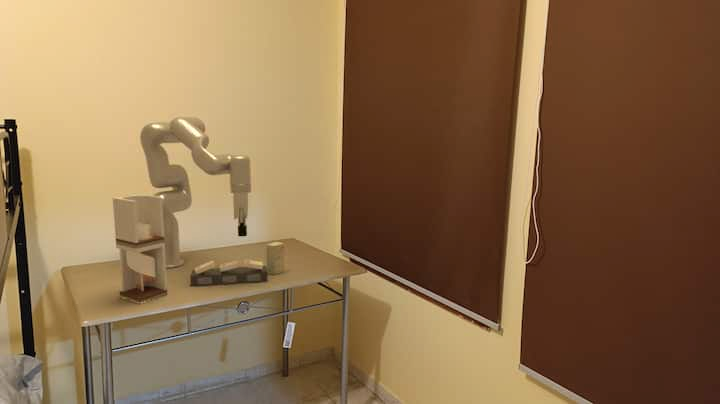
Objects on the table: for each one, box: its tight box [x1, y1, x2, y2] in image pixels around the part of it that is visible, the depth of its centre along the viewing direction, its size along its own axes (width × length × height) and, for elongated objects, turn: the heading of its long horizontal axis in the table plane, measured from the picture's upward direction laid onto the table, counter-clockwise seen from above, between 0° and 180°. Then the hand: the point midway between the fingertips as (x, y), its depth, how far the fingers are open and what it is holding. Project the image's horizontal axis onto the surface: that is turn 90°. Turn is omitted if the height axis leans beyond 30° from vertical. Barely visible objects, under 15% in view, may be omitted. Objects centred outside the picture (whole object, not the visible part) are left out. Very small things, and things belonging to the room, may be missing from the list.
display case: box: [112, 193, 168, 303], centre depth 164 cm, size 11×11×35 cm
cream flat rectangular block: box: [219, 259, 240, 272], centre depth 183 cm, size 7×4×2 cm, turn 104°
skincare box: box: [266, 241, 285, 276], centre depth 194 cm, size 6×4×12 cm
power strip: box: [190, 265, 268, 288], centre depth 184 cm, size 28×8×4 cm, turn 104°
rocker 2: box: [243, 259, 264, 269], centre depth 185 cm, size 7×4×2 cm, turn 104°
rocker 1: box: [194, 259, 216, 274], centre depth 181 cm, size 7×4×2 cm, turn 104°
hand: (242, 235), depth 182 cm, fingers closed
